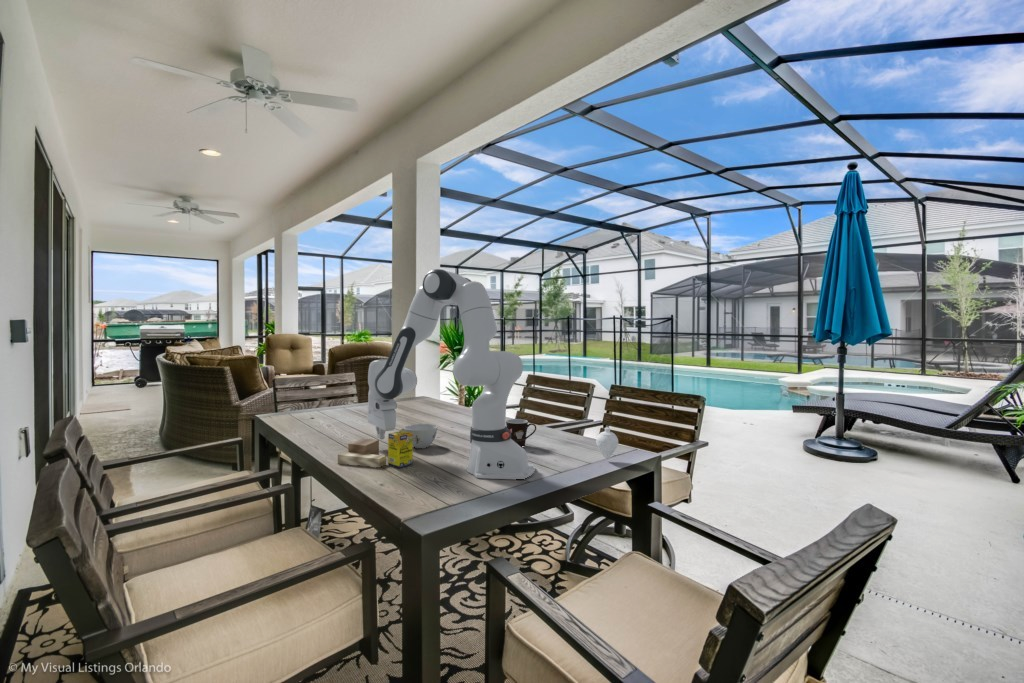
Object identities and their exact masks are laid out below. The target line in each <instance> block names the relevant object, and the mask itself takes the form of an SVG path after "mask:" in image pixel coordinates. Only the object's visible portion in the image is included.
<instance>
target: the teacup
mask: <svg viewBox="0 0 1024 683" xmlns="http://www.w3.org/2000/svg"><path fill="white" fill-rule="evenodd" d="M438 429H439V428H438V426H437V425H435V424H433V423H432V424H431V423H416V424H411V425H406V426H405V427H404V428H401V429H400V430H399V431H406V432H410V433H413V448H414V447H415V449H418V448H422V449H426V447H427V448H429V447H430V446H431V444H433V442H434V440H435V438H436V436H437V433H438Z"/></svg>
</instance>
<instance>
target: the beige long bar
mask: <svg viewBox="0 0 1024 683" xmlns="http://www.w3.org/2000/svg"><path fill="white" fill-rule="evenodd" d="M338 463H339V465H347V464H349V466H357V465H361V466H360V467H366V466H370V467H369V468H376V467H380V468H382V467H383V465H384V466H386V465H385V464H387V456H386V455H382V454H379V455H374V454H363V453H353V452H348V451H343V452H341V453H338V454H337V464H338ZM381 466H382V467H381Z"/></svg>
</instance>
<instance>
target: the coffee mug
mask: <svg viewBox="0 0 1024 683" xmlns="http://www.w3.org/2000/svg"><path fill="white" fill-rule="evenodd" d="M505 426H506V427H507V428H508V429H509V430H510V429H512V432H511V439H512V440H513V441H514V442H516V443H517V444H518V445H519V446H520V447H522V446H525V447H526V442H527V441H526V440H527V439H529V438H530V437H531V436H532V435H534V433H535V432H536V431H537V425H536V424H535V423H532V422H531V423H529V421H528V420H527V419H523V418H510V419H505ZM530 426H534V430H533V432H531V433H530V434H528V435H527V431H528V428H529V427H530Z"/></svg>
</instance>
